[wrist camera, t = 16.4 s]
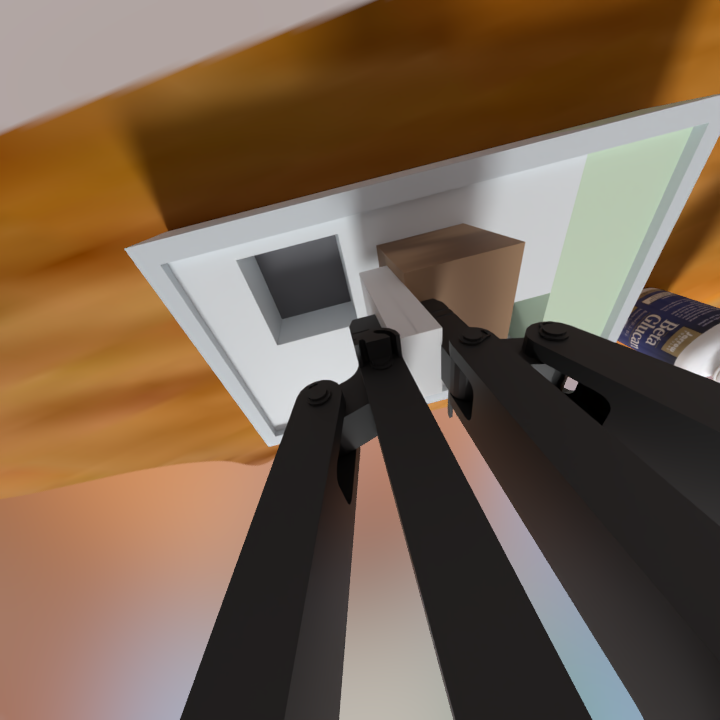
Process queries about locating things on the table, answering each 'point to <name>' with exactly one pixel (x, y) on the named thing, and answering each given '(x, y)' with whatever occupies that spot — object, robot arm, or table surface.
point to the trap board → (421, 215)
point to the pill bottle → (675, 331)
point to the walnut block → (460, 272)
